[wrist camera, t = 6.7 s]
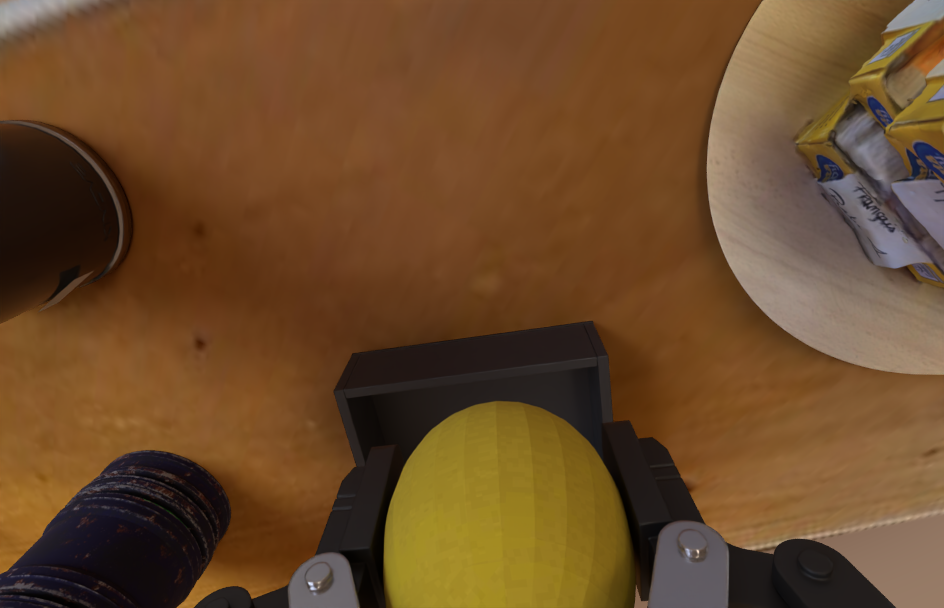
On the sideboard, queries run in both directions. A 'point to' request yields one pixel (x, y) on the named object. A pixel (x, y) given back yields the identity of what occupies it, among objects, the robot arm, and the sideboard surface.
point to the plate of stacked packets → (838, 176)
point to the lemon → (507, 517)
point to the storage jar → (125, 539)
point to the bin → (474, 384)
